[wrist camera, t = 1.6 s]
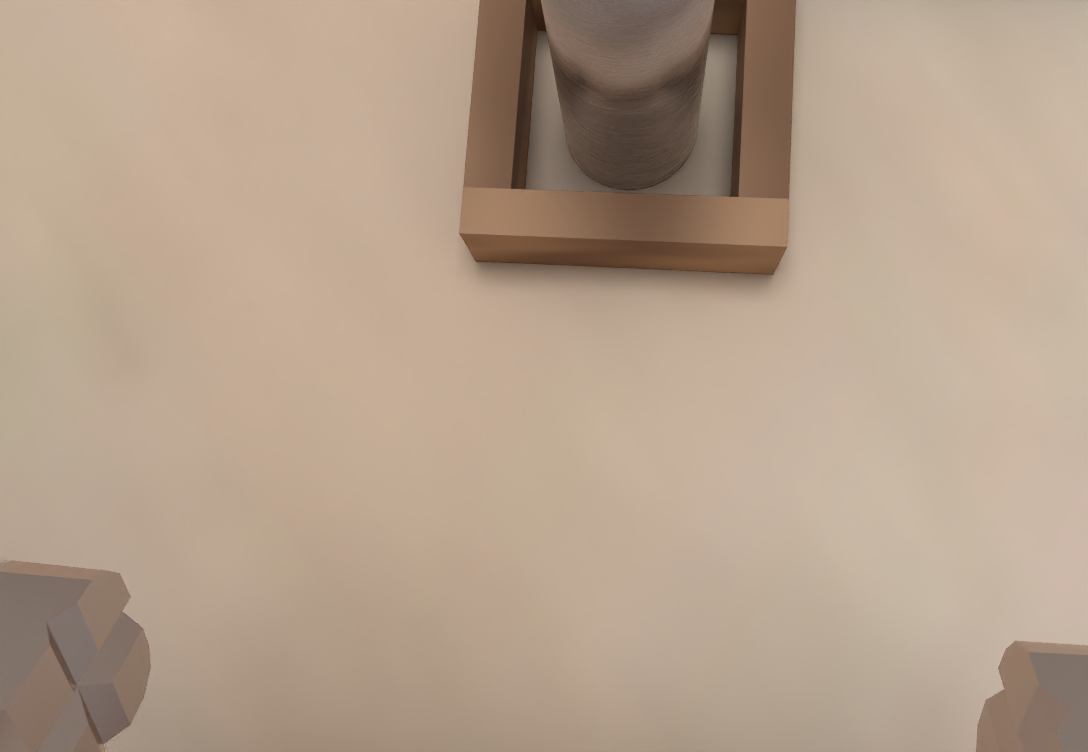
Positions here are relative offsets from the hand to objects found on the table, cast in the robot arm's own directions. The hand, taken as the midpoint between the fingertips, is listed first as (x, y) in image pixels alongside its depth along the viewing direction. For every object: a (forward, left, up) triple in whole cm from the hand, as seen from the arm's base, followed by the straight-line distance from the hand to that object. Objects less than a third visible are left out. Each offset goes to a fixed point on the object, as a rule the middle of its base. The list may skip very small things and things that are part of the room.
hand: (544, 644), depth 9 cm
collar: (0, +12, -16) cm, 21 cm away
